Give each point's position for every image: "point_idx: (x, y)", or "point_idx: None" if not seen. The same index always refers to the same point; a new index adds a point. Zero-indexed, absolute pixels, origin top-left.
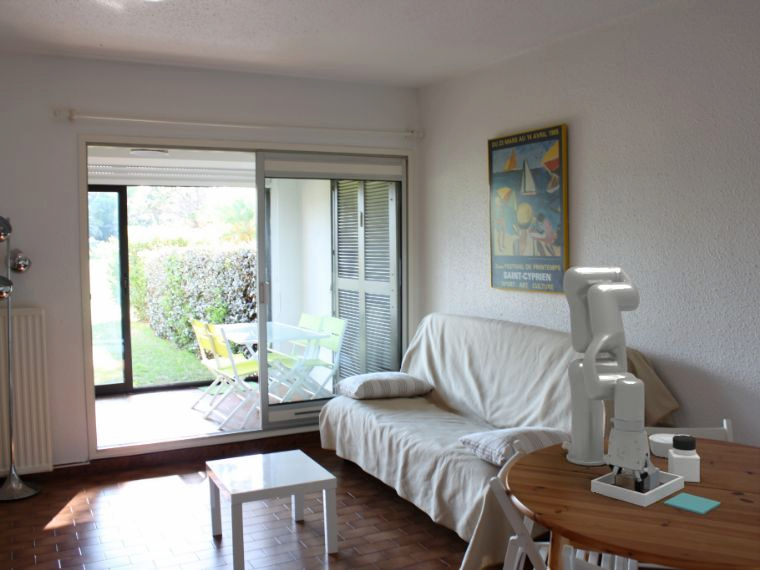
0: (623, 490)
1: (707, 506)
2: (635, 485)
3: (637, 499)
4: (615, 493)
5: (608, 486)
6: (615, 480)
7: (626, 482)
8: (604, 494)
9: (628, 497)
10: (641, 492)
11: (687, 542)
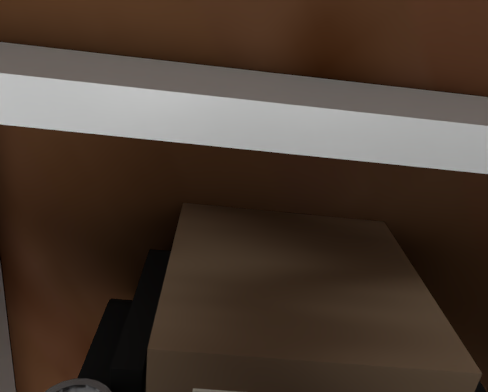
0: (224, 92)
1: None
2: (149, 322)
3: (8, 52)
4: (346, 90)
5: (485, 121)
6: None
7: (267, 308)
8: (481, 96)
9: (149, 67)
10: (113, 303)
11: None
